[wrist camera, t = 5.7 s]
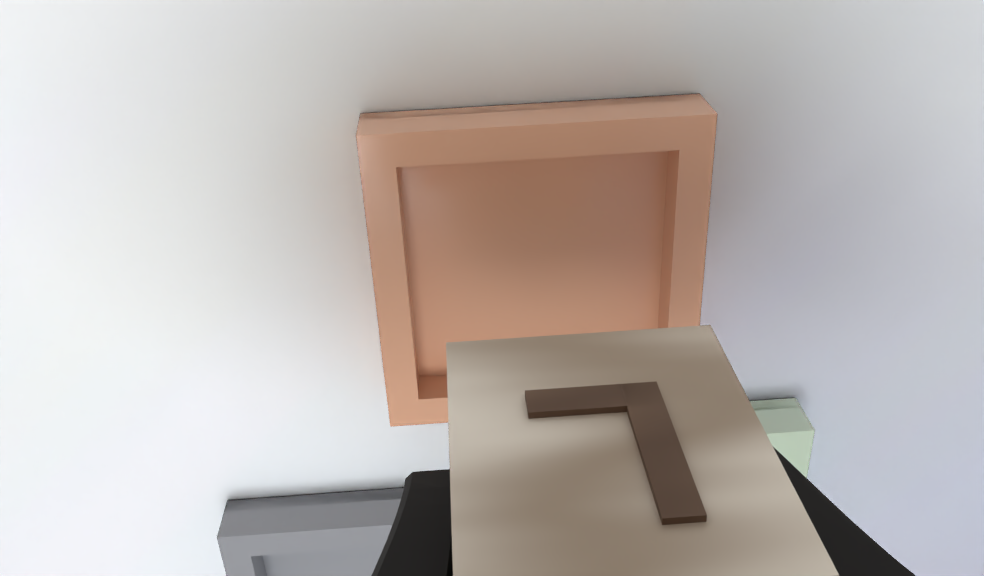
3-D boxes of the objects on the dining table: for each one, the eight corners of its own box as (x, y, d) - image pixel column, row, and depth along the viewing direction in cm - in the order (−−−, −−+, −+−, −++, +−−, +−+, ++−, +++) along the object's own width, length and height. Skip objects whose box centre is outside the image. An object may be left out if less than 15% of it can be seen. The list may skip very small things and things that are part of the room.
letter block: (710, 319, 14) (841, 568, 9) (692, 522, 16) (792, 805, 11) (445, 336, 14) (452, 596, 9) (461, 539, 16) (473, 832, 11)
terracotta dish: (699, 93, 19) (717, 113, 18) (679, 373, 22) (692, 404, 21) (360, 113, 19) (355, 135, 18) (392, 393, 22) (390, 426, 21)
